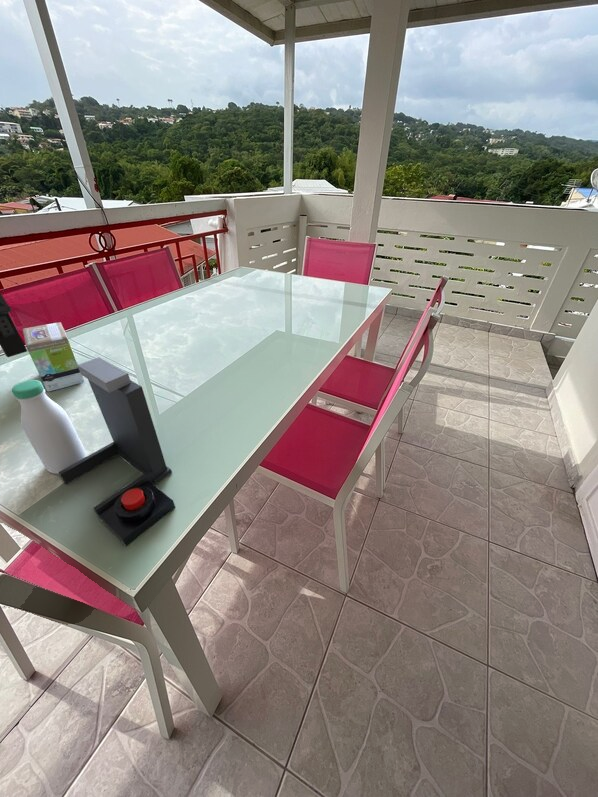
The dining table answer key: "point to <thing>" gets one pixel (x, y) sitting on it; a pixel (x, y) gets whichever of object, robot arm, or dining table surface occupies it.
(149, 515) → the switch block
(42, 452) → the milk bottle
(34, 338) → the tea box
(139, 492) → the stop button
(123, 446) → the drink machine
